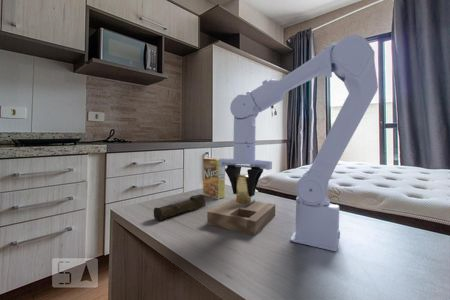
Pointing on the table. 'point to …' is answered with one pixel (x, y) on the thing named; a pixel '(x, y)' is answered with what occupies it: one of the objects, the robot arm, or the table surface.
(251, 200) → the teal flat square block
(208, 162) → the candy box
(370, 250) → the table surface
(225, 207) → the block
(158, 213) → the dark brown log
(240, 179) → the peg
